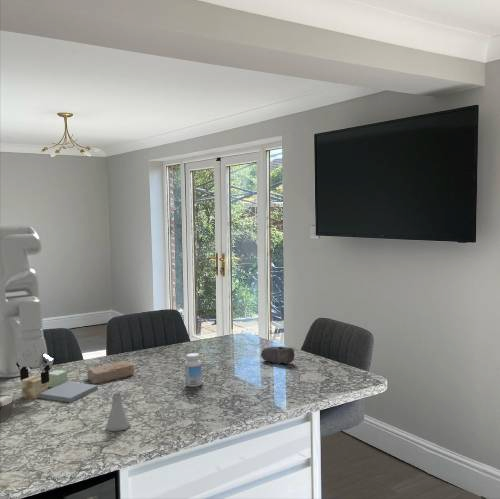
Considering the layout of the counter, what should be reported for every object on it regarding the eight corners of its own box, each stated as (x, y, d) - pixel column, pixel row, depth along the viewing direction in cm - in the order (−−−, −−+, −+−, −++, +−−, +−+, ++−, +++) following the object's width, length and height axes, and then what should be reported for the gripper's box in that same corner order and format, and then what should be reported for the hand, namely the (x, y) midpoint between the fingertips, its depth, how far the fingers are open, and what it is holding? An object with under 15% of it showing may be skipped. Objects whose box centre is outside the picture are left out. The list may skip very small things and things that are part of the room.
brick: (94, 384, 202) (94, 372, 202) (86, 379, 208) (86, 367, 208) (135, 375, 212) (134, 364, 211) (126, 371, 218) (125, 359, 218)
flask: (108, 423, 163) (106, 391, 162) (132, 421, 164) (130, 389, 163) (103, 432, 156) (102, 399, 155) (128, 431, 156) (127, 397, 156)
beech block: (22, 396, 190) (21, 380, 189) (35, 391, 195) (34, 375, 195) (35, 398, 187) (34, 381, 187) (47, 393, 193) (47, 376, 193)
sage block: (47, 386, 200) (46, 373, 200) (57, 382, 205) (56, 369, 204) (58, 388, 198) (57, 375, 198) (67, 384, 203) (66, 371, 202)
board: (39, 397, 188) (39, 393, 188) (67, 385, 201) (67, 381, 201) (70, 402, 182) (70, 398, 182) (97, 389, 195) (97, 385, 195)
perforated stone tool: (258, 362, 225) (257, 345, 224) (264, 359, 229) (264, 343, 228) (289, 367, 216) (289, 350, 216) (295, 363, 221) (295, 347, 220)
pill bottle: (205, 383, 199) (204, 353, 198) (196, 388, 193) (195, 357, 192) (191, 381, 201) (190, 351, 201) (182, 386, 196) (181, 356, 195)
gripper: (5, 335, 190) (8, 383, 190) (42, 337, 183) (45, 386, 184) (22, 331, 197) (25, 377, 197) (58, 332, 190) (61, 380, 190)
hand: (35, 381), depth 190 cm, fingers open, 9 cm apart
